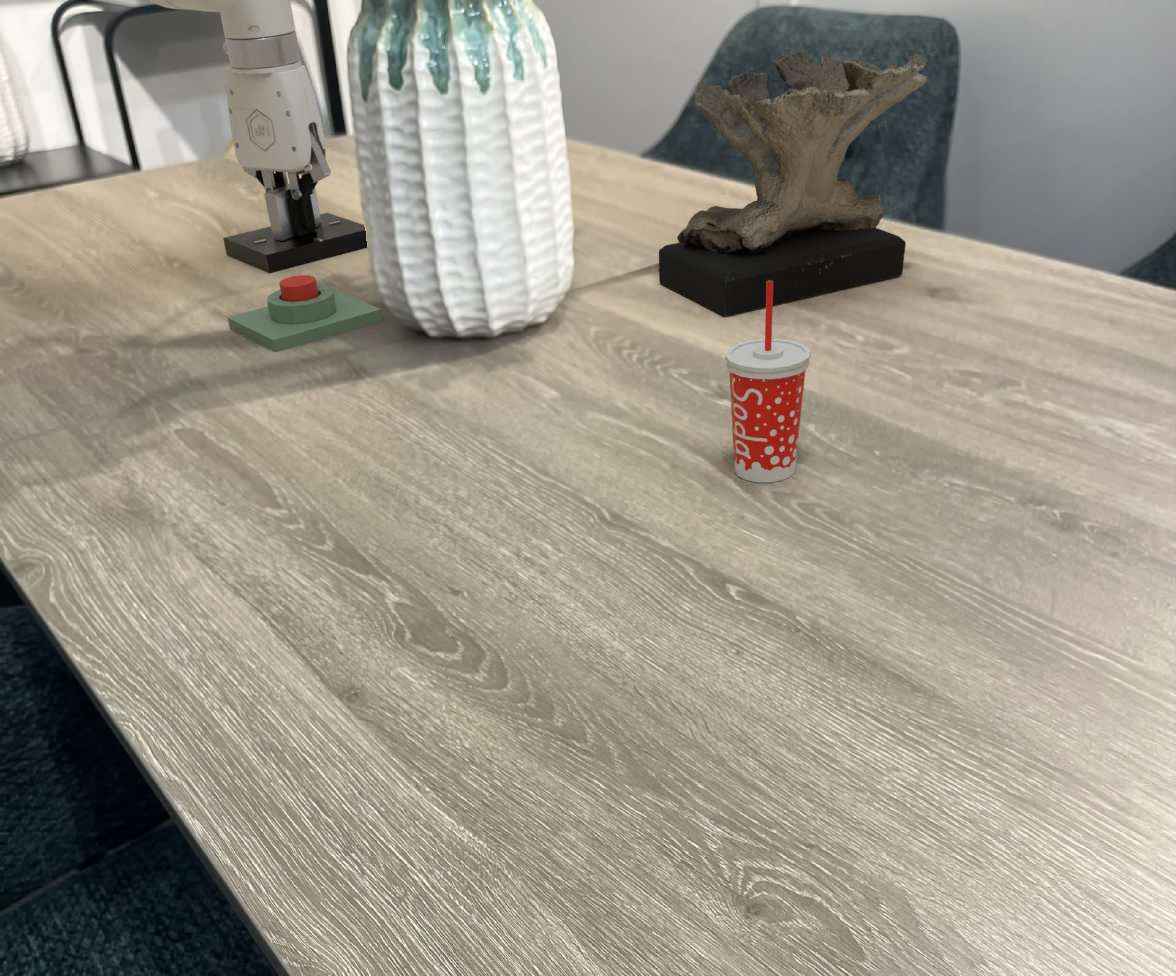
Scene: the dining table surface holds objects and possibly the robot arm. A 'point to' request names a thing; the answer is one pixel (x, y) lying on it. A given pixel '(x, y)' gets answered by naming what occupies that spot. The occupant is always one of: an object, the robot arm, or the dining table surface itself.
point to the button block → (303, 319)
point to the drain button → (298, 288)
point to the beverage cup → (766, 402)
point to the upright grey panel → (285, 212)
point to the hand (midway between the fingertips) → (297, 231)
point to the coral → (791, 188)
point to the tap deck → (297, 244)
